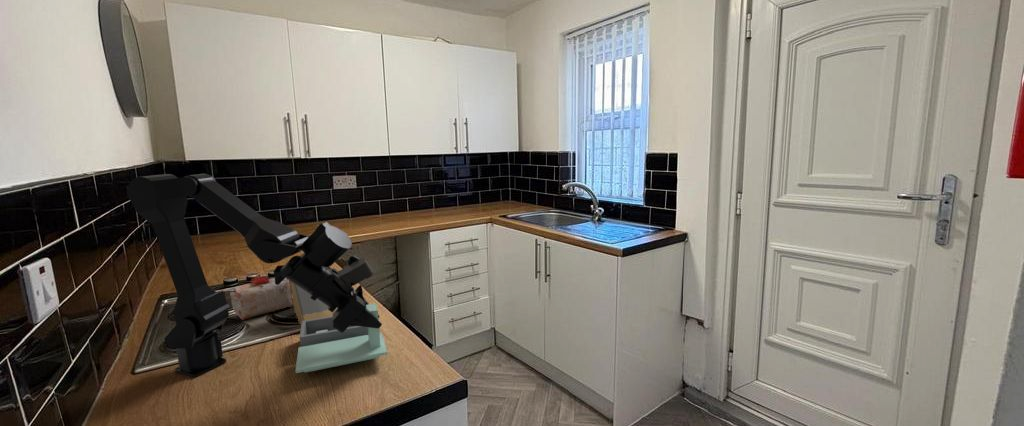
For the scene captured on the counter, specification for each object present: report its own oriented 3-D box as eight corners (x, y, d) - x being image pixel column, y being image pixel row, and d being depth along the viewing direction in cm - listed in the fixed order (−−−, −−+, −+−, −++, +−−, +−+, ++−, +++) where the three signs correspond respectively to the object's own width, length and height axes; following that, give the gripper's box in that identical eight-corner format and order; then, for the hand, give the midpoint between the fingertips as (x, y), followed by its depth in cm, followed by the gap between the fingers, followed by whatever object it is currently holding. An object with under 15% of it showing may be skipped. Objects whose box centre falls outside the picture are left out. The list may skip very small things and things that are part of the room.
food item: (238, 323, 107) (232, 286, 106) (231, 314, 113) (226, 278, 112) (295, 308, 117) (292, 274, 115) (287, 300, 122) (283, 267, 121)
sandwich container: (306, 335, 100) (299, 275, 98) (293, 314, 112) (287, 260, 110) (343, 325, 105) (338, 267, 103) (328, 306, 118) (323, 254, 115)
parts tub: (301, 357, 90) (299, 337, 89) (303, 339, 98) (301, 320, 97) (380, 342, 96) (378, 323, 95) (376, 326, 104) (374, 309, 104)
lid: (296, 378, 79) (290, 330, 78) (299, 354, 88) (294, 311, 86) (387, 359, 86) (384, 314, 84) (382, 338, 95) (379, 298, 93)
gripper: (347, 259, 75) (413, 308, 82) (343, 237, 92) (398, 279, 99) (302, 309, 74) (373, 354, 80) (307, 277, 91) (365, 317, 97)
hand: (379, 322), depth 89 cm, fingers closed on lid, 4 cm apart
